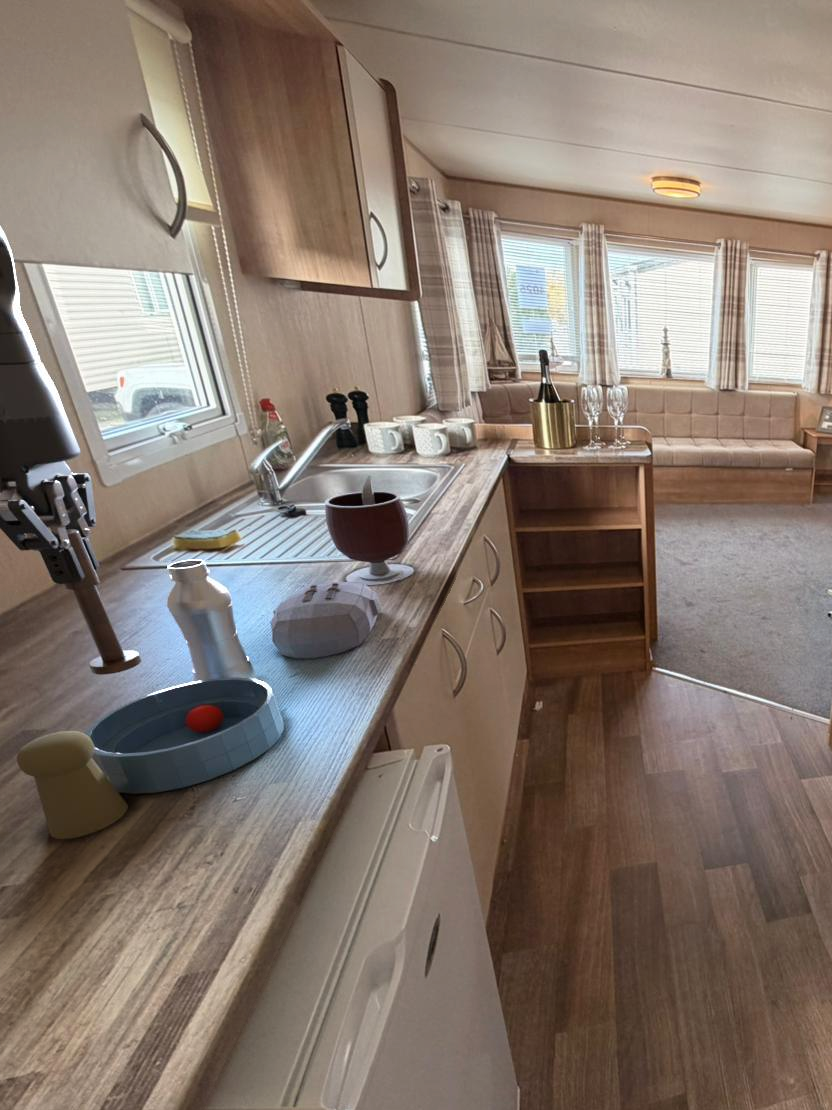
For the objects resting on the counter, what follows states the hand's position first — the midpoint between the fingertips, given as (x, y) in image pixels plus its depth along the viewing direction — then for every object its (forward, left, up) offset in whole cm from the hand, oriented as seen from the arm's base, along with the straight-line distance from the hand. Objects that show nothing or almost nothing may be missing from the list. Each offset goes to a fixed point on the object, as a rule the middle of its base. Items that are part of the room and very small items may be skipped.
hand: (77, 576), depth 68 cm
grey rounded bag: (+12, +33, -25) cm, 43 cm away
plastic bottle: (+3, +17, -25) cm, 30 cm away
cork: (-2, -10, -25) cm, 27 cm away
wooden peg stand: (0, 0, -11) cm, 11 cm away
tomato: (+4, +5, -22) cm, 23 cm away
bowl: (+4, +1, -25) cm, 25 cm away
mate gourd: (+17, +62, -25) cm, 69 cm away
